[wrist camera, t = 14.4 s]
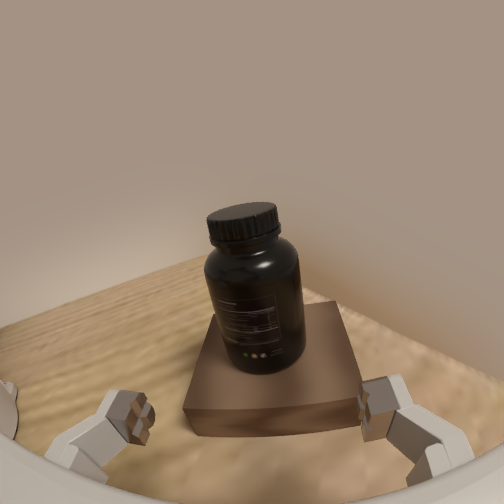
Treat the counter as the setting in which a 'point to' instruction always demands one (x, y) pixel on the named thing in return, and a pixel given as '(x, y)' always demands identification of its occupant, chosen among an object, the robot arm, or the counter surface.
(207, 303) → the counter surface
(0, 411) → the robot arm
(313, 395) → the walnut stand
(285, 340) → the supplement bottle
